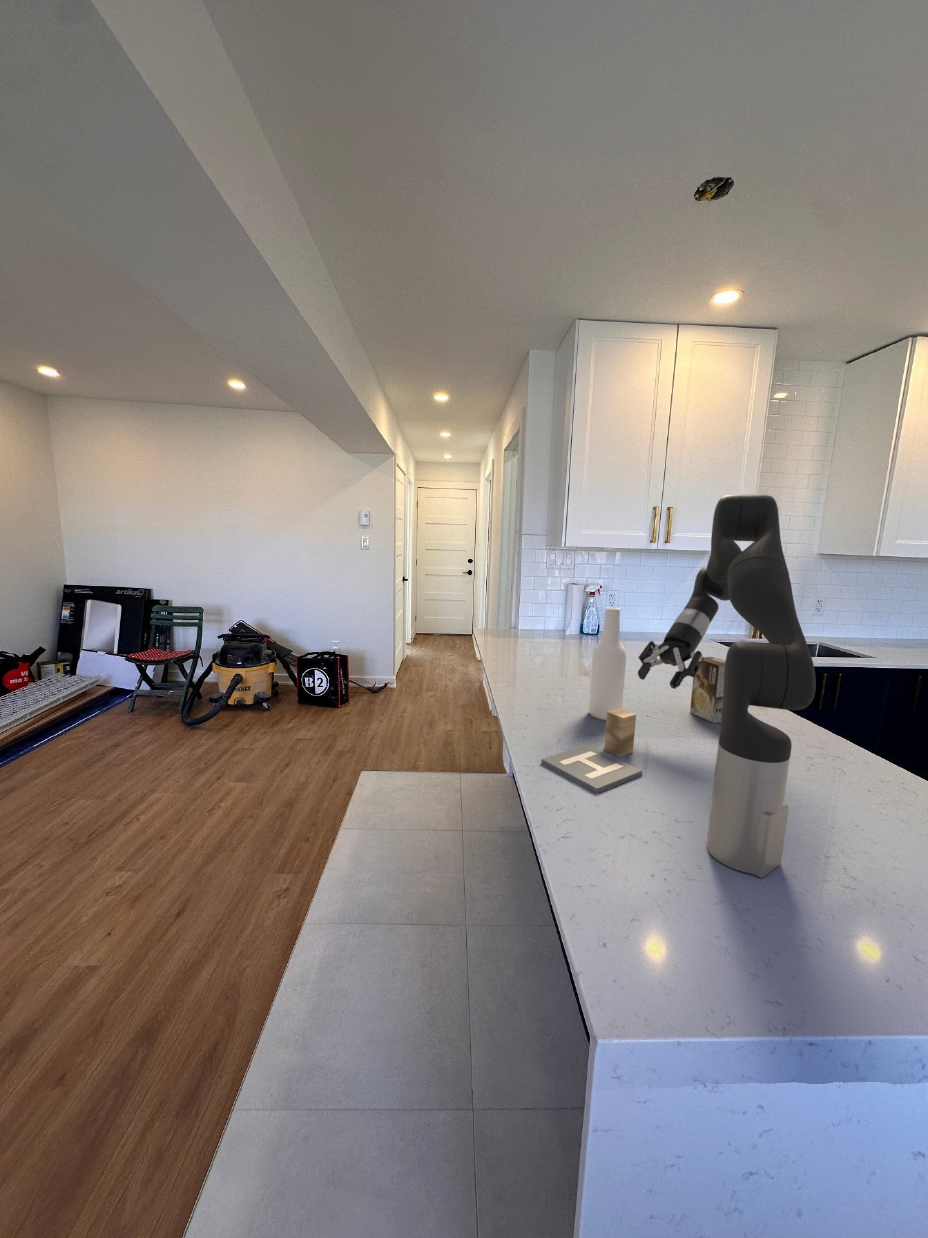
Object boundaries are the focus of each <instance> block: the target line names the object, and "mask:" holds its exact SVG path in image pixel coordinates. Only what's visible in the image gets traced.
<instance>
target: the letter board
mask: <svg viewBox="0 0 928 1238" xmlns="http://www.w3.org/2000/svg"><path fill="white" fill-rule="evenodd" d="M540 763H541V764H542V765H544V767H547V768H549V769H551V770H553V771H555V772H556V773H558V774H560V775H562V776H564V777H566V778H568V779H569V780H571V781H573V782H574V783H576V784H579V785H581V786H582V787H584V788H586V789H587V790H590V791H592V792H593V793H595V794H599V793H601V792H603V791H604V792H605V791H606V790H609V789H610V788H614V787H616V786H619V785H621V784H625V783H626V782H628V781H631V780H634V779H636V778H639V777H640V776H643V769H640V768H637V767H635V766H633V765H631V764H629V763H626V762H624V761H623V760H620V759H619V758H616V757H614V756H611V755H609V754H607V753H605V752H602V751H600V750H598V749H596V748H593V747H591V746H589V745H586V744H585V745H581V746H578V747H575V748H572V749H569V750H565V751H563V752H559V753H555V754H554V755H550V756H546V757H542V758H541V762H540Z"/></svg>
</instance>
